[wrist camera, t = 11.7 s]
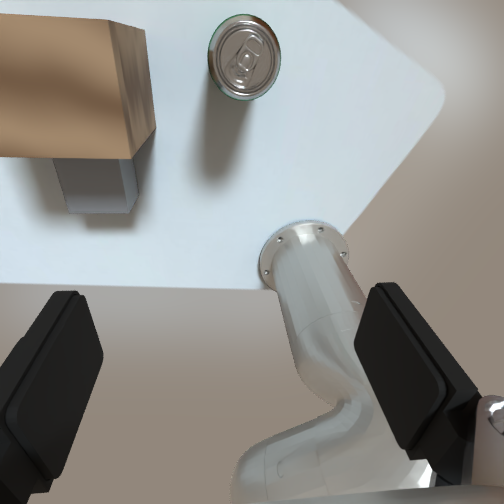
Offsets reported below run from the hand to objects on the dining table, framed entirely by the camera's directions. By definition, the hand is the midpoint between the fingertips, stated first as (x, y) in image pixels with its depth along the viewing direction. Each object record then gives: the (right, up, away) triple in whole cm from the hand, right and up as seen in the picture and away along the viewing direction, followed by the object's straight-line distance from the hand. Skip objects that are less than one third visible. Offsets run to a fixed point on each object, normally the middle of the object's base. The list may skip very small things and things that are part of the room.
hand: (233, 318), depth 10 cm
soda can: (-1, +21, +20) cm, 29 cm away
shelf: (-15, +19, +20) cm, 32 cm away
